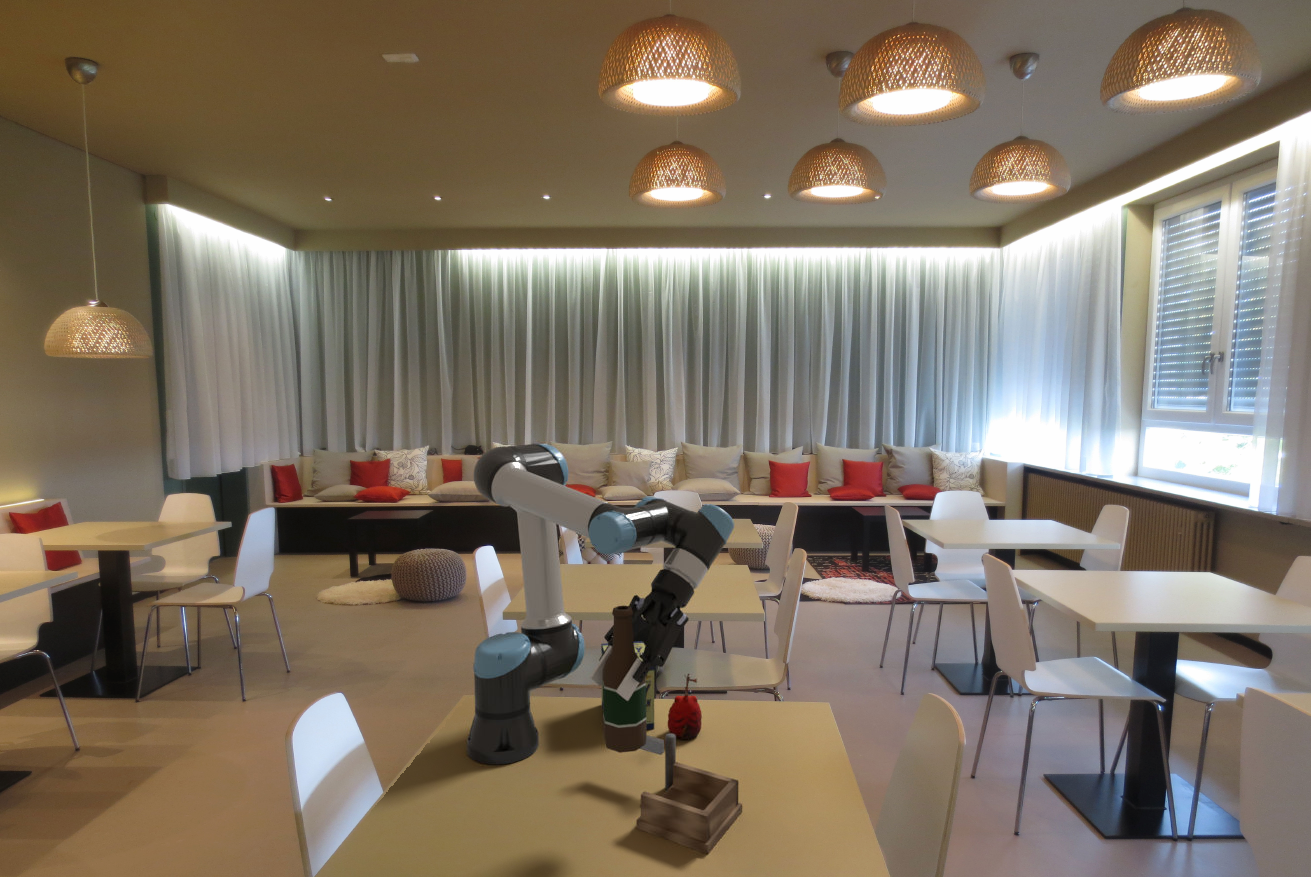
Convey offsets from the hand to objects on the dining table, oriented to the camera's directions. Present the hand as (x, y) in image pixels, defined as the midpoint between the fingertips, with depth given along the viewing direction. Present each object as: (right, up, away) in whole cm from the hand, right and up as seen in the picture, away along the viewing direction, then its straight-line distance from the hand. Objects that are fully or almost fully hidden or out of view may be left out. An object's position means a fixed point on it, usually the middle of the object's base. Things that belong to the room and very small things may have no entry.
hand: (608, 688), depth 123 cm
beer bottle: (+3, -11, +3) cm, 11 cm away
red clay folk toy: (+15, -24, +38) cm, 47 cm away
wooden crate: (+14, -25, +6) cm, 30 cm away
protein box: (+1, -23, +47) cm, 52 cm away
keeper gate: (+5, -18, +19) cm, 27 cm away
